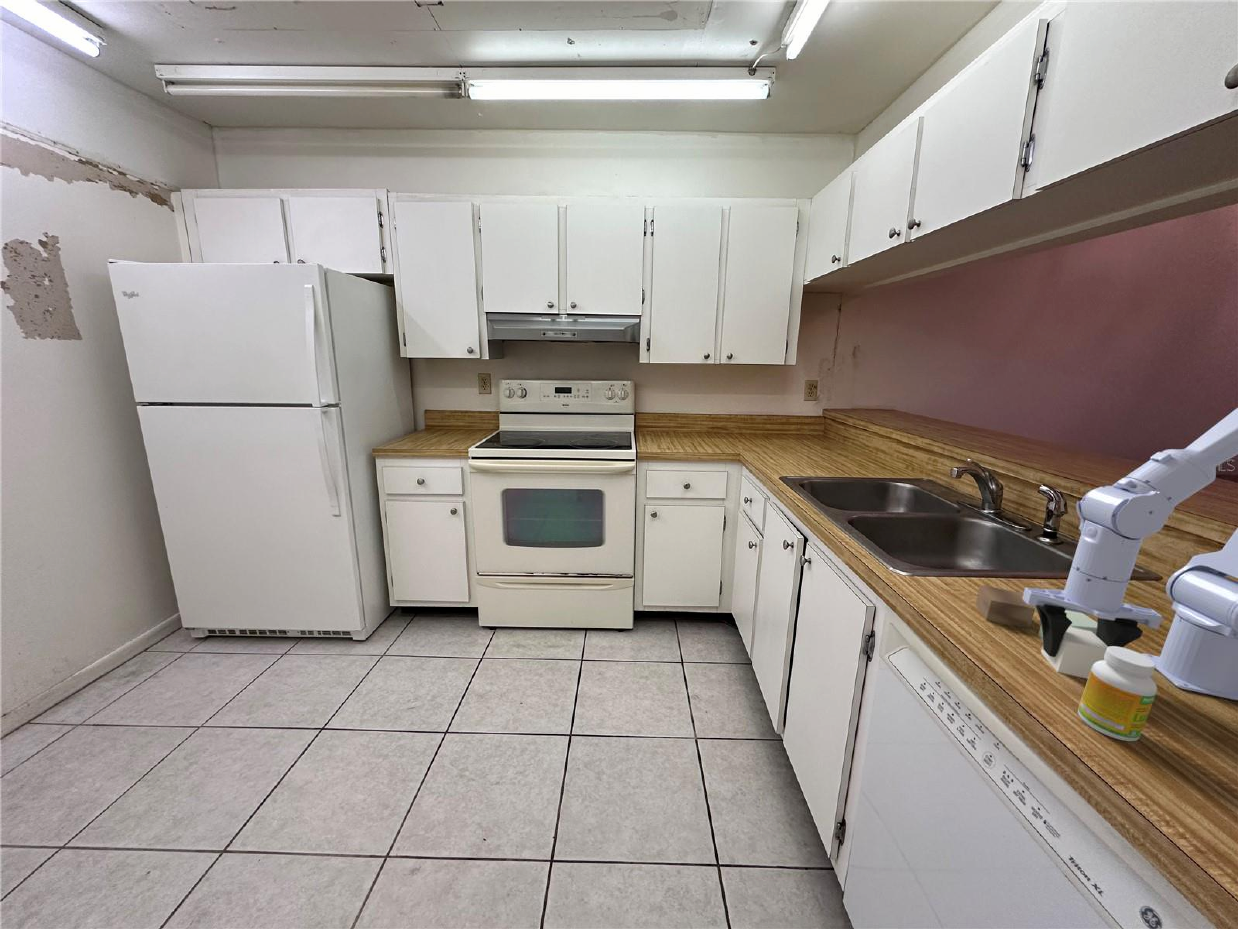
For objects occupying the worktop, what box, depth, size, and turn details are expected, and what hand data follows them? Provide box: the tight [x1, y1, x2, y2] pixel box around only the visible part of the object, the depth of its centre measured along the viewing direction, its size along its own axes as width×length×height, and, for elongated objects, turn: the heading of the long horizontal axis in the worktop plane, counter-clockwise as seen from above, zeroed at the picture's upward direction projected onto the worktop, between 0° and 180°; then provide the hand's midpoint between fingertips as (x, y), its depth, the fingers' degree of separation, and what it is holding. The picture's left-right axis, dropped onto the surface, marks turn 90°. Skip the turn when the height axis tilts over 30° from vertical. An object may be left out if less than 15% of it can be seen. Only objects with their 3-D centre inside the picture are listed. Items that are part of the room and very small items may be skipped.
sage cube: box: [1037, 610, 1098, 640], centre depth 73 cm, size 5×5×5 cm
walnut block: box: [974, 584, 1036, 630], centre depth 81 cm, size 6×6×4 cm
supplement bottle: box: [1077, 646, 1158, 742], centre depth 56 cm, size 5×5×10 cm
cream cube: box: [1040, 627, 1108, 680], centre depth 68 cm, size 5×5×5 cm
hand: (1072, 657), depth 68 cm, fingers closed on cream cube, 5 cm apart
